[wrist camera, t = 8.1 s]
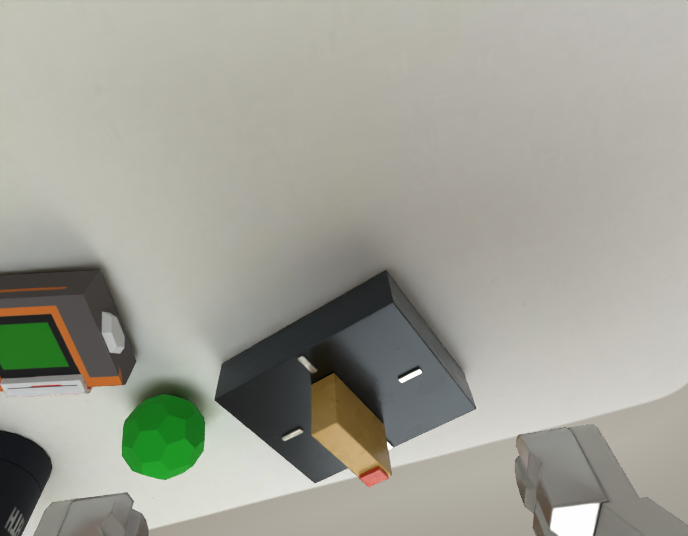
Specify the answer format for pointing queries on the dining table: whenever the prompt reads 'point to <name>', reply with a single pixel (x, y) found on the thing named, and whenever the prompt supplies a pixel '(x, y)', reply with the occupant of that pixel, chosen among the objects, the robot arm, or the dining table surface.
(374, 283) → the block
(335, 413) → the tap handle
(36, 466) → the insulated water bottle
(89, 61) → the dining table surface
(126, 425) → the polyhedron
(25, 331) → the electronic device
